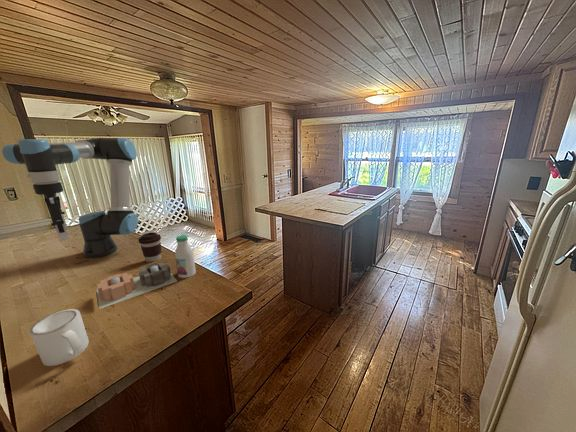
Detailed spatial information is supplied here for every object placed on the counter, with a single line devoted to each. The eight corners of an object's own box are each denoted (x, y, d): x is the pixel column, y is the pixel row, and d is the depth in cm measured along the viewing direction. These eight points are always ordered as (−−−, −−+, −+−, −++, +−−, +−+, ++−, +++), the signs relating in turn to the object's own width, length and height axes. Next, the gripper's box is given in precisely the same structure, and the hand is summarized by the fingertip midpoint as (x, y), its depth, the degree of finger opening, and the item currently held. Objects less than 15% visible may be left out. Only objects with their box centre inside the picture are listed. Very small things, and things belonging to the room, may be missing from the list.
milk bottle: (192, 270, 113) (187, 232, 107) (198, 276, 107) (193, 236, 101) (175, 276, 107) (169, 236, 102) (182, 282, 102) (175, 241, 96)
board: (97, 292, 95) (92, 276, 93) (167, 270, 112) (164, 256, 110) (100, 312, 84) (95, 294, 82) (177, 284, 101) (175, 269, 99)
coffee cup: (155, 266, 116) (150, 239, 111) (138, 264, 118) (132, 237, 113) (168, 257, 125) (164, 231, 121) (153, 255, 127) (148, 230, 123)
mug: (103, 345, 70) (95, 317, 67) (61, 375, 61) (49, 343, 58) (76, 333, 75) (67, 305, 71) (34, 358, 65) (21, 328, 62)
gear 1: (99, 291, 94) (96, 280, 92) (132, 280, 101) (129, 270, 99) (101, 304, 85) (98, 293, 84) (137, 292, 93) (134, 281, 91)
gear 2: (138, 278, 102) (136, 268, 101) (166, 269, 110) (164, 260, 108) (144, 289, 94) (142, 279, 93) (173, 279, 102) (172, 269, 100)
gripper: (33, 179, 91) (51, 228, 98) (30, 188, 75) (51, 247, 81) (59, 177, 96) (74, 224, 103) (61, 185, 80) (78, 241, 86)
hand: (64, 234), depth 92 cm, fingers open, 13 cm apart
